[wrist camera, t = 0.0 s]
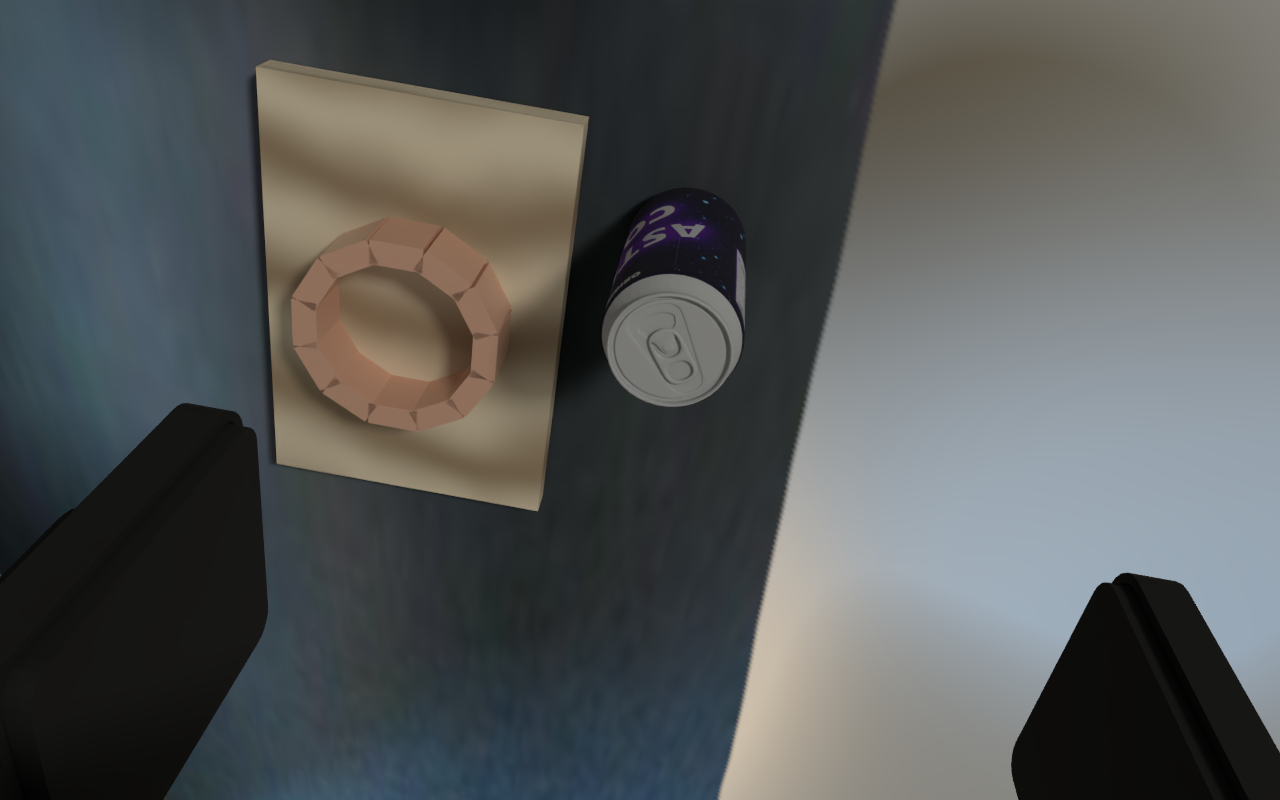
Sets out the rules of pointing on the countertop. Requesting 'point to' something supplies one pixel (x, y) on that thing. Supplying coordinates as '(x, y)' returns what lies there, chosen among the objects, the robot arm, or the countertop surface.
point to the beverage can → (678, 299)
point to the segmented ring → (365, 381)
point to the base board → (404, 300)
